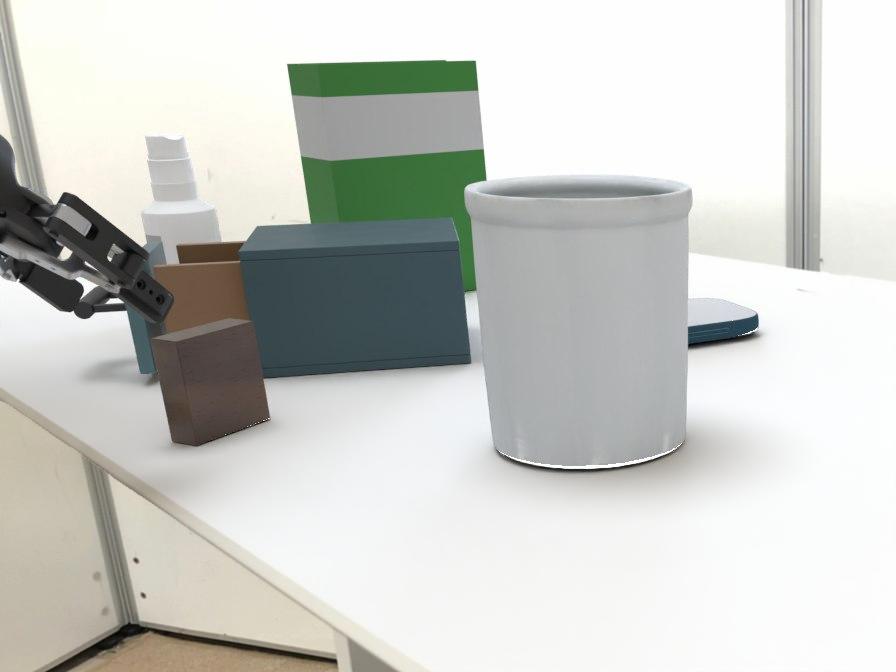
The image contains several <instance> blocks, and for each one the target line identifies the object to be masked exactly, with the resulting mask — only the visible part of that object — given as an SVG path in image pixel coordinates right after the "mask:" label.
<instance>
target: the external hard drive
mask: <svg viewBox="0 0 896 672" xmlns="http://www.w3.org/2000/svg"><path fill="white" fill-rule="evenodd" d="M732 320H733V321H732ZM759 325H760V320H759V314H758V312H757V311H756V310H754V309H751V308H750V307H749V308H748V307H746V306H743V305H740V304H738V303H734V302H732V301H729V300H725V299H721V298H714V297H692V298H688V345H690V344H697V343H703V342H711V341H718V340H724V339H731V337H732V338H736V337H735V336H738V335H742V334H745V333H748V332H750V331H753V330H755V329H756V328H757V327H758V328H759ZM738 337H739V336H738Z"/></svg>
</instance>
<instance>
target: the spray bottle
mask: <svg viewBox="0 0 896 672" xmlns="http://www.w3.org/2000/svg"><path fill="white" fill-rule="evenodd" d="M144 138H145V143H146V149H147V160H146V162H147V167H148V171H149V177H150V187H151V193H152V196H153V201H152V202H150V203H149V204H148V205H146V206H145V207H144V208H143V209H142V210H141V211H140V216H141V221H142V226H143V231H144V235H145V242H146V243H148V242H157V241H162V243H163V248H164V253H165V258H166V263H167V265H168V264H179V259H178V254H177V249H176V245H177V244H189V243H210V242H223V239H222V234H221V233H222V232H221V228H220V222H219V215H218V211H217V208H216V207H215V205H213V204H211V203H209V202H208V201H205V200H203V199H201V198H200V196H199V190H198V186H197V181H196V179H195V174H194V169H193V163H192V158H191V157H190V155H189V152H188V150H187V144H186V139H185V135H184V133H153V134H152V133H151V134H146V135H144Z"/></svg>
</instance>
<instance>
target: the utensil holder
mask: <svg viewBox="0 0 896 672" xmlns="http://www.w3.org/2000/svg"><path fill="white" fill-rule="evenodd" d="M692 189H693V188H692V187H691V185H689V184H687V183H685V182H682V181H678V180H673V179H665V178H658V177H651V176H650V177H649V176H641V175H628V174H627V175H626V174H625V175H624V174H557V175H556V174H552V175H551V174H549V175H548V174H547V175H530V176H515V177H505V178H497V179H496V178H495V179H487V181H481V182H477V183H473V184H469V185H468V186H466V187H465V190H464V198H465V206H466V209H467V212H468V213H469V215H470V217H471V226H472V239H473V252H474V264H475V276H476V289H475V290H476V297H477V299H476V300H477V307H478V308H477V309H478V318H479V319H478V320H479V330H480V331H479V333H480V338H481V339H480V341H481V353H482V363H483V372H484V381H485V390H486V396H487V398H486V399H487V407H488V413H489V424H490V431H491V438H492V443H493V446H494V448H495V447H496V448H495V450H496V449H497V450H499V451H500V452H502V453H504V454H506V455H508V456H511V457H514V458H517V459H521V460H526V461H530V462H534V463H541V464H550V465H562V466H586V465H608V464H616V463H625V462H629V461H634V460H639V459H644V458H647V457H652V456H655V455H658V454H661V453H665V452H667V451H670V450H672V449H673V448H676V447H677V446H678V445H680V444H681V443H682V442H683V441H684V439H685V440H686V436H687V410H688V409H687V407H688V370H689V344H688V299H689V254H690V253H689V249H690V248H689V247H690V245H689V244H690V240H689V238H690V237H689V234H690V232H689V231H690V230H689V229H690V228H689V215H690V212H691V210H692V207H693V190H692ZM684 442H685V441H684ZM684 442H683V443H684ZM497 450H496V451H497Z"/></svg>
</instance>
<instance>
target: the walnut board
mask: <svg viewBox="0 0 896 672" xmlns="http://www.w3.org/2000/svg"><path fill="white" fill-rule="evenodd" d="M151 343H152V348H153V353H154V358H155V363H156V367H157V372H156V373H157V376H158V380H159V386H160V391H161V395H162V400H163V405H164V409H165V415H166V419H167V423H168V424H167V426H168V430H169V434H170V435H169V436H170V439H171V442H173V443H178V444H184V445H190V446H195V445H196V446H195V447H198V446H200V444H201V445H203V444H206V443H208V442H207V441H209V442H211V441H210V440H212V441H214V440H216V439H215V438H217V439H219V438H218V437H220V436H223V437H225V436H226V435H225V434H228V435H230V434H229V433H231V432H234V431H236V432H238V431H237V430H239V431H241V430H240V429H242V428H245V429H247V428H246V427H247V426H250V425H253V424H255V423H258V422H261V421H263V420H266V419H268V418H270V419H271V414H270V408H269V403H268V397H267V391H266V383H265V380H264V379H265V378H263V373H262V367H261V361H260V355H259V350H258V344H257V338H256V332H255V326H254V321H248V320H240V319H231V318H228V319H224V320H220V321H216V322H212V323H208V324H205V325H201V326H197V327H193V328H189V329H185V330H181V331H178V332H174V333H170V334H166V335H162V336H158V337H154V338H151ZM261 423H262V422H261ZM253 426H254V425H253ZM250 427H251V426H250ZM242 430H243V429H242ZM234 433H235V432H234ZM231 434H232V433H231ZM224 435H225V436H224ZM220 438H221V437H220ZM213 439H214V440H213ZM205 442H206V443H205ZM202 443H203V444H202Z"/></svg>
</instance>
